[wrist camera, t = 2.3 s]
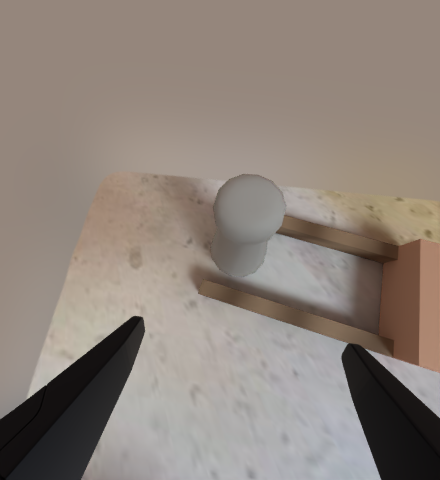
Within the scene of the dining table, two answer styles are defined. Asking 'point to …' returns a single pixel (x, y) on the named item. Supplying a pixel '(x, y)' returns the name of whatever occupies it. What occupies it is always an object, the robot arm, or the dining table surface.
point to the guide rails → (303, 319)
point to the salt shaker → (245, 223)
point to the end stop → (413, 304)
